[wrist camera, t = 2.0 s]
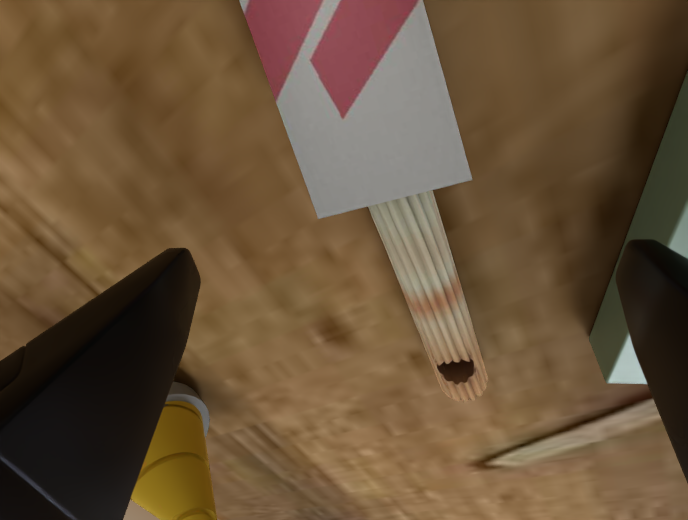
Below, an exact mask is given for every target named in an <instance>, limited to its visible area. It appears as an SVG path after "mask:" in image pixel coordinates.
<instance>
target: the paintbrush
mask: <svg viewBox="0 0 688 520" xmlns="http://www.w3.org/2000/svg"><path fill="white" fill-rule="evenodd" d="M239 1H240V4H241V7H242V10H243V12H244V15H245V18H246V21H247V23H248V26H249V29H250V32H251V34H252V37H253V40H254V43H255V45H256V48H257V51H258V54H259V56H260V59H261V62H262V65H263V67H264V70H265V73H266V76H267V78H268V81H269V84H270V87H271V90H272V92H273V95H274V98H275V101H276V103H277V106H278V109H279V112H280V114H281V117H282V120H283V123H284V125H285V128H286V131H287V134H288V136H289V139H290V142H291V145H292V147H293V150H294V153H295V156H296V158H297V161H298V164H299V167H300V170H301V172H302V175H303V178H304V181H305V183H306V186H307V189H308V192H309V194H310V197H311V200H312V203H313V205H314V208H315V211H316V214H317V216H318V219H320V218H324V217H328V216H332V215H336V214H340V213H344V212H348V211H352V210H356V209H360V208H364V207H367V206H368V208H369V211H370V213H371V216H372V218H373V220H374V223H375V225H376V228H377V230H378V232H379V235H380V237H381V239H382V242H383V244H384V247H385V249H386V251H387V254H388V256H389V259H390V261H391V264H392V266H393V269H394V272H395V274H396V277H397V279H398V282H399V284H400V287H401V289H402V292H403V294H404V297H405V299H406V302H407V304H408V307H409V309H410V312H411V314H412V317H413V319H414V322H415V324H416V327H417V329H418V332H419V334H420V337H421V339H422V342H423V344H424V347H425V349H426V352H427V354H428V357H429V359H430V362H431V364H432V367H433V369H434V372H435V374H436V377H437V379H438V382H439V384H440V387H441V389H442V390H443V392H444V393H446V394H447V396H448V397H449V398H453V399H454V400H455V401H457V402H458V401H460V400H462V401H463V402H467V401H468V400H469V399H470V400H475V399H476V396H481V395H482V394H483V392H482V391H483V390H485V389H486V388H487V384H486V382H487V381H488V377H487V373H486V370H485V366H484V363H483V359H482V356H481V353H480V349H479V346H478V342H477V339H476V335H475V332H474V328H473V325H472V321H471V318H470V315H469V311H468V308H467V304H466V301H465V297H464V294H463V291H462V287H461V284H460V281H459V277H458V274H457V271H456V267H455V264H454V261H453V257H452V254H451V250H450V247H449V244H448V240H447V237H446V234H445V230H444V227H443V224H442V220H441V217H440V214H439V210H438V207H437V204H436V201H435V197H434V194H433V190H435V189H439V188H443V187H447V186H450V185H454V184H458V183H462V182H466V181H470V180H472V176H471V173H470V169H469V166H468V162H467V158H466V155H465V151H464V148H463V144H462V140H461V137H460V133H459V129H458V125H457V122H456V118H455V115H454V111H453V107H452V104H451V100H450V96H449V93H448V89H447V86H446V82H445V78H444V75H443V71H442V68H441V64H440V60H439V57H438V53H437V50H436V46H435V42H434V39H433V35H432V32H431V28H430V24H429V21H428V17H427V13H426V10H425V6H424V3H423V0H239Z"/></svg>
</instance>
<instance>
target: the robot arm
mask: <svg viewBox="0 0 688 520" xmlns="http://www.w3.org/2000/svg"><path fill="white" fill-rule="evenodd" d="M200 283H201V281H200V275H199V272H198V270H197V267H196V265H195V262H194V260H193V258H192V255H191V253H190V251H189V250H188V249H186V248H169V249H167V250H165V251H164V252H162V253H161V254H159V255H158V256H156V257H155V258H153V259H152V260H150V261H149V262H147V263H146V264H144V265H143V266H141V267H140V268H138V269H137V270H135V271H134V272H132V273H131V274H129V275H128V276H126V277H125V278H124V279H122V280H121V281H119V282H118V283H116V284H115V285H113V286H112V287H110V288H109V289H107V290H106V291H104V292H103V293H101V294H100V295H98V296H97V297H95V298H94V299H92V300H91V301H89V302H88V303H86V304H85V305H83V306H82V307H80V308H79V309H77V310H76V311H74V312H73V313H71V314H70V315H68V316H67V317H65V318H64V319H62V320H61V321H59V322H58V323H57V324H55V325H54V326H52V327H51V328H49V329H48V330H46V331H45V332H43V333H42V334H40V335H39V336H37V337H36V338H34V339H33V340H31V341H30V342H28V343H27V344H26V347H25V346H22V347H21V348H19V349H18V350H16V351H15V352H13V353H12V354H10V355H9V356H7V357H6V358H4V359H3V360H1V361H0V520H123V518H124V515H125V512H126V509H127V507H128V504H129V501H130V499H131V496H132V493H133V490H134V488H135V485H136V482H137V479H138V476H139V474H140V471H141V468H142V465H143V463H144V460H145V457H146V454H147V452H148V449H149V446H150V443H151V441H152V438H153V435H154V432H155V430H156V427H157V424H158V421H159V419H160V416H161V413H162V410H163V408H164V405H165V402H166V399H167V396H168V394H169V391H170V388H171V385H172V383H173V380H174V377H175V374H176V372H177V369H178V366H179V363H180V361H181V358H182V355H183V352H184V349H185V346H186V343H187V339H188V336H189V331H190V327H191V323H192V319H193V315H194V310H195V306H196V302H197V298H198V293H199V289H200ZM616 285H617V289H618V292H619V296H620V300H621V304H622V308H623V312H624V315H625V319H626V323H627V327H628V331H629V334H630V338H631V342H632V345H633V348H634V351H635V354H636V357H637V359H638V362H639V364H640V367H641V369H642V372H643V374H644V377H645V379H646V382H647V384H648V387H649V389H650V392H651V394H652V397H653V399H654V401H655V404H656V406H657V409H658V411H659V414H660V416H661V419H662V421H663V424H664V426H665V429H666V431H667V434H668V436H669V438H670V441H671V443H672V446H673V448H674V451H675V453H676V456H677V458H678V461H679V463H680V466H681V468H682V471H683V473H684V476H685V478H686V480H687V483H688V259H687V258H686V257H684V256H682V255H681V254H679V253H677V252H675V251H674V250H672V249H670V248H668V247H667V246H665V245H663V244H662V243H660V242H658V241H656V240H654V239H633V240H630V241H629V242H628V243H627V244H626V246H625V249H624V252H623V254H622V257H621V260H620V262H619V265H618V268H617V271H616Z"/></svg>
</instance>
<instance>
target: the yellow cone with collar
mask: <svg viewBox="0 0 688 520" xmlns="http://www.w3.org/2000/svg"><path fill="white" fill-rule="evenodd" d="M209 422H210V418H209V412H208V409H207V407H206V405H205V404H204V402H203V401H202V400H201V399H200V397H199V396H198V395H197V393H196V392H195V391H194V390H193V389H192V388H190V387H189V386H187V385H185V384H182V383H178V382H173V383H172V385H171V388H170V391H169V394H168V396H167V399H166V402H165V405H164V408H163V410H162V413H161V416H160V419H159V421H158V424H157V427H156V430H155V432H154V435H153V438H152V441H151V443H150V446H149V449H148V452H147V454H146V457H145V460H144V463H143V465H142V468H141V471H140V474H139V476H138V479H137V482H136V485H135V488H134V490H133V493H132V496H131V500H133V501H134V502H135V503H137V504H138V505H140V506H141V507H143V508H144V509H145V510H147V511H148V512H150V513H151V514H153V515H154V516H156V517H157V518H159V519H160V520H217V515H216V508H215V502H214V495H213V488H212V481H211V475H210V468H209V461H208V454H207V447H206V441H205V437H206V435H207V432H208V429H209Z"/></svg>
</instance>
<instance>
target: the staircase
mask: <svg viewBox="0 0 688 520" xmlns="http://www.w3.org/2000/svg"><path fill="white" fill-rule="evenodd" d="M633 239H654V240H656V241H658V242H660V243H662V244H663V245H665V246H667V247H668V248H670V249H672V250H674V251H675V252H677V253H679V254H681V255H682V256H684V257H686V258H687V259H688V71H687V74H686V76H685V79H684V82H683V84H682V87H681V90H680V93H679V95H678V98H677V101H676V103H675V106H674V109H673V112H672V114H671V117H670V120H669V122H668V125H667V128H666V131H665V133H664V136H663V139H662V141H661V144H660V147H659V150H658V152H657V155H656V158H655V160H654V163H653V166H652V169H651V171H650V174H649V177H648V179H647V182H646V185H645V188H644V190H643V193H642V196H641V198H640V201H639V204H638V207H637V209H636V212H635V215H634V217H633V220H632V223H631V226H630V228H629V231H628V234H627V236H626V239H625V242H624V245H623V247H622V250H621V253H620V256H619V258H618V261H617V264H616V266H615V269H614V272H613V275H612V277H611V280H610V283H609V285H608V288H607V291H606V294H605V296H604V299H603V302H602V304H601V307H600V310H599V313H598V315H597V318H596V321H595V323H594V326H593V329H592V332H591V334H590V337H589V341H590V343H591V346H592V348H593V351H594V353H595V356H596V358H597V361H598V364H599V366H600V369H601V371H602V374H603V376H604V379H605V381H606V383H625V384H647V382H646V379H645V377H644V374H643V372H642V369H641V367H640V364H639V362H638V359H637V357H636V354H635V351H634V348H633V345H632V342H631V338H630V334H629V331H628V327H627V323H626V319H625V315H624V312H623V308H622V304H621V300H620V296H619V292H618V289H617V285H616V271H617V268H618V265H619V262H620V260H621V257H622V254H623V252H624V249H625V246H626V244H627V243H628V242H629V241H630V240H633Z"/></svg>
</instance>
